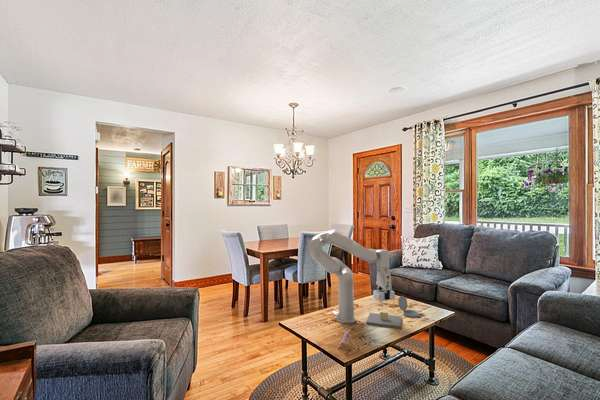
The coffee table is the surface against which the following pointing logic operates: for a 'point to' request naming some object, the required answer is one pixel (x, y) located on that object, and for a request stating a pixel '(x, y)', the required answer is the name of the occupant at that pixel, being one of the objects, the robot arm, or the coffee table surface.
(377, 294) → the slotted block
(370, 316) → the grey piece
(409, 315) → the pocket watch
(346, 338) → the lily
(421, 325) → the coffee table surface
